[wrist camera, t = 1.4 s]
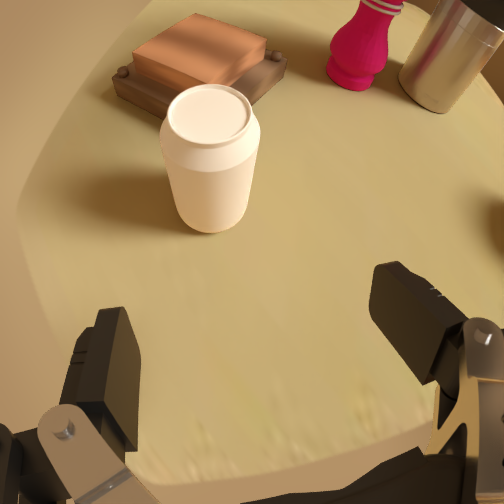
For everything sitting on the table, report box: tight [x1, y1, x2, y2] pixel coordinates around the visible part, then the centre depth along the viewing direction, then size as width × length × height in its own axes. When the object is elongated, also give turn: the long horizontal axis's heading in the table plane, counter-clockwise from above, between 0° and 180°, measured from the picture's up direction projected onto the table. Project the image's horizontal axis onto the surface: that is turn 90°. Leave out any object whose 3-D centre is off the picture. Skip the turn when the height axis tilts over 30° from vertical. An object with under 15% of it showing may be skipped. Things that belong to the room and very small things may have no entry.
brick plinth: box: [112, 13, 288, 120], centre depth 30 cm, size 14×14×6 cm
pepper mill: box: [326, 0, 407, 91], centre depth 27 cm, size 7×7×20 cm
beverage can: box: [160, 84, 260, 233], centre depth 23 cm, size 6×6×12 cm
